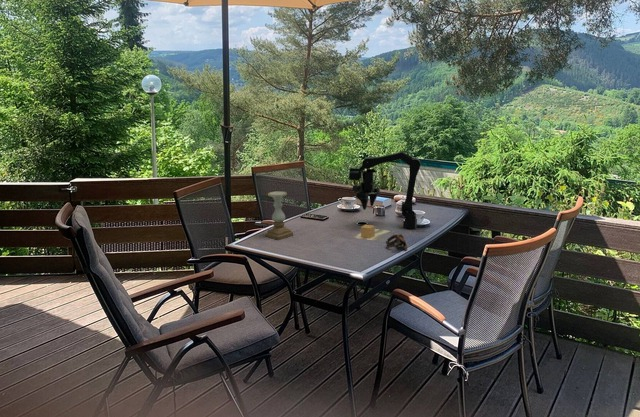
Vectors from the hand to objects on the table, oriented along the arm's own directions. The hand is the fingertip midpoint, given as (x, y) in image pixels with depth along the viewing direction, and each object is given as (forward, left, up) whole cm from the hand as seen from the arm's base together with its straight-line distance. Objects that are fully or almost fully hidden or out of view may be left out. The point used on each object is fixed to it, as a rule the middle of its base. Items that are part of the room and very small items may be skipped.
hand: (368, 207), depth 270 cm
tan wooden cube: (-8, +17, -11) cm, 22 cm away
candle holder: (+37, +34, -12) cm, 52 cm away
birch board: (-8, +12, -12) cm, 19 cm away
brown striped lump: (-28, +26, -12) cm, 40 cm away
